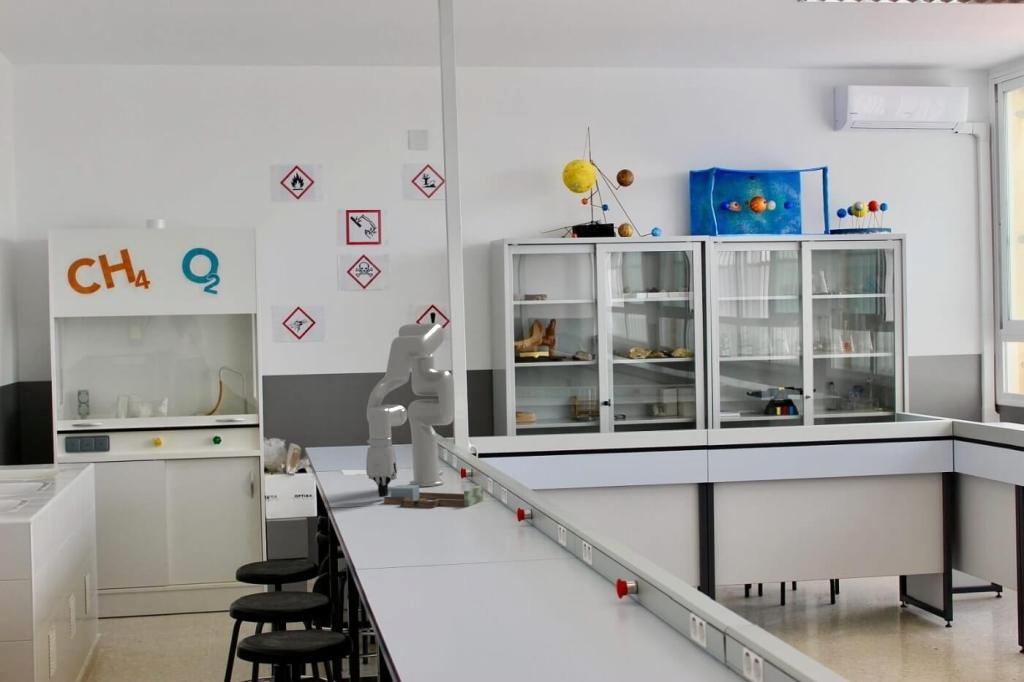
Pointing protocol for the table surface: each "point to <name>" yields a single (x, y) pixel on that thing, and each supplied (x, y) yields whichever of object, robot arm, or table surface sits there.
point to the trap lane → (440, 499)
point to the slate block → (406, 491)
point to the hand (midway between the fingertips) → (383, 496)
